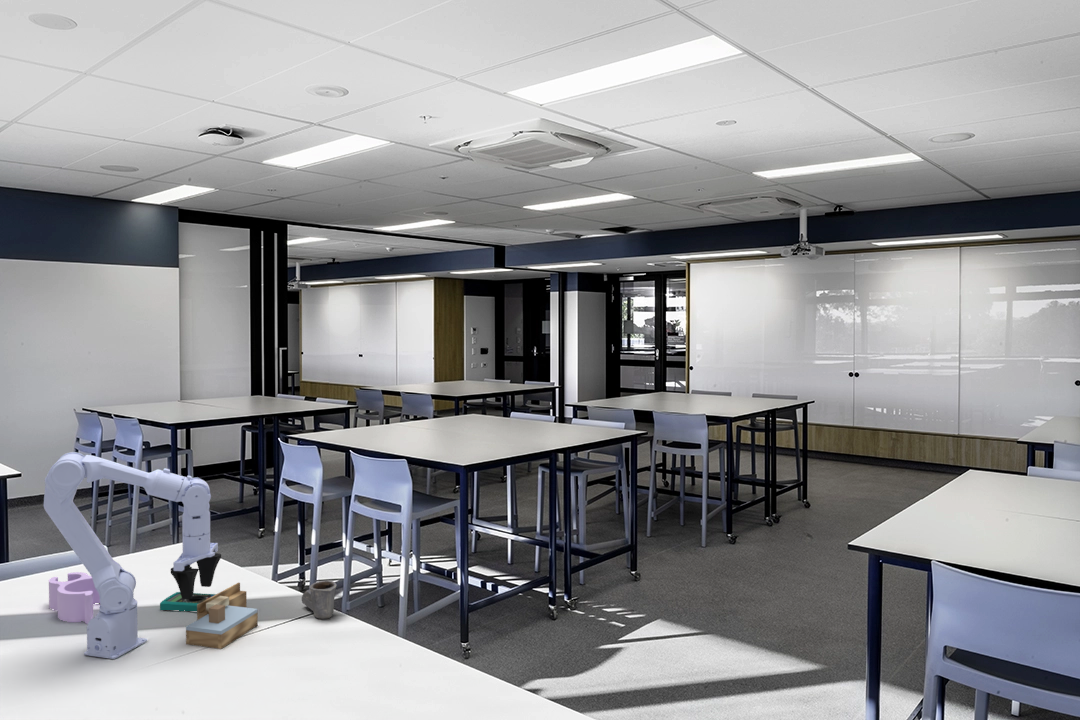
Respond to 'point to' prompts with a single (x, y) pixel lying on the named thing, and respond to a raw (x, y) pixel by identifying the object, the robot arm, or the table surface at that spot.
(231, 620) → the lid
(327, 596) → the pipe
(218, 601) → the cream rectangular block
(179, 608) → the digital multimeter
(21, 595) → the table surface
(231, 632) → the toolbox
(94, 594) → the clip
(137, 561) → the table surface
